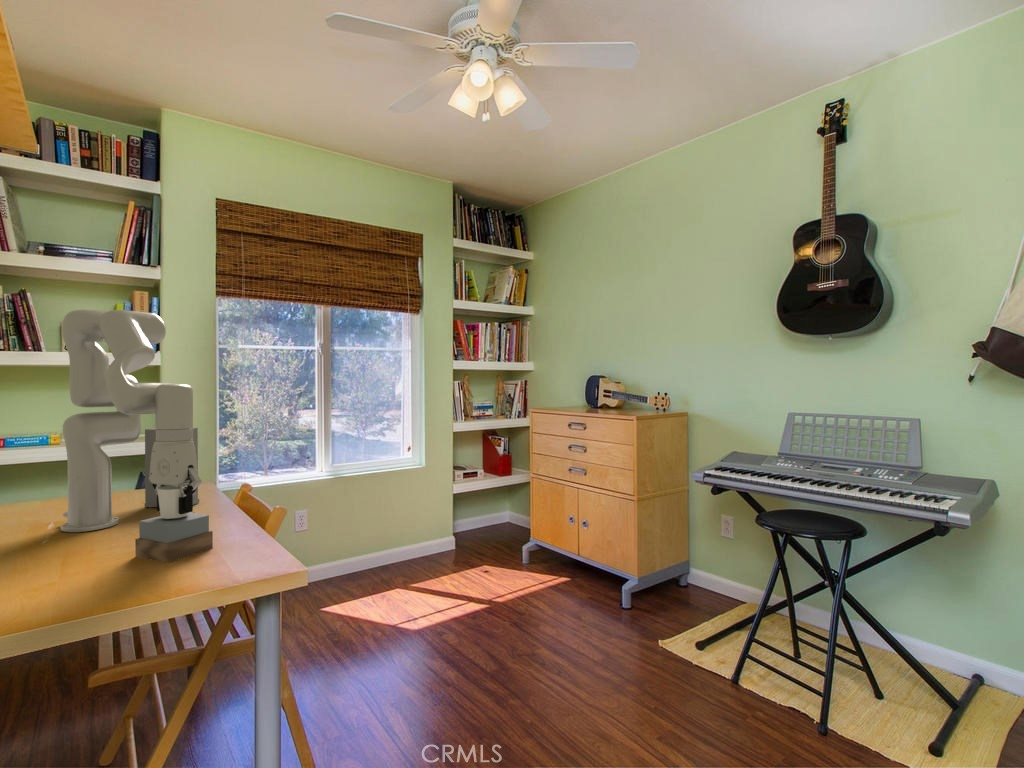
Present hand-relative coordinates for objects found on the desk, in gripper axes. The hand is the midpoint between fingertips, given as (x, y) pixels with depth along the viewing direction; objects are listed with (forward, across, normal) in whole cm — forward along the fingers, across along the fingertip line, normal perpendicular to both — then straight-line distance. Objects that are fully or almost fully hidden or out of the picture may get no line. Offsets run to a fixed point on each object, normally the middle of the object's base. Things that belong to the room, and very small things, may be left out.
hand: (174, 510), depth 125 cm
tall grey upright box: (+10, -43, +33) cm, 55 cm away
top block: (+6, 0, 0) cm, 6 cm away
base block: (+10, 0, 0) cm, 10 cm away
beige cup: (+1, 0, 0) cm, 1 cm away
